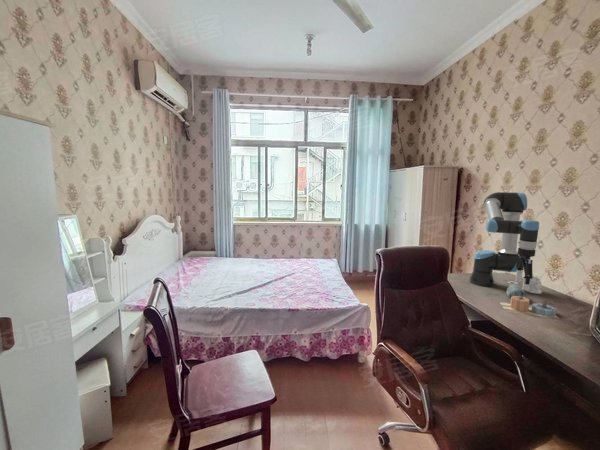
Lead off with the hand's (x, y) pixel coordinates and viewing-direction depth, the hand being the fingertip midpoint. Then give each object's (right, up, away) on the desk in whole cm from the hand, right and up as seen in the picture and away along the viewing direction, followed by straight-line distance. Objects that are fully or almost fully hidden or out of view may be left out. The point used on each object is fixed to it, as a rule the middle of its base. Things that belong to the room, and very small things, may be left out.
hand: (521, 285), depth 164 cm
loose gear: (0, -13, +2) cm, 14 cm away
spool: (+9, -12, +18) cm, 24 cm away
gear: (+10, -14, -3) cm, 18 cm away
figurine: (+31, -11, +32) cm, 46 cm away
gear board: (+3, -15, 0) cm, 15 cm away
